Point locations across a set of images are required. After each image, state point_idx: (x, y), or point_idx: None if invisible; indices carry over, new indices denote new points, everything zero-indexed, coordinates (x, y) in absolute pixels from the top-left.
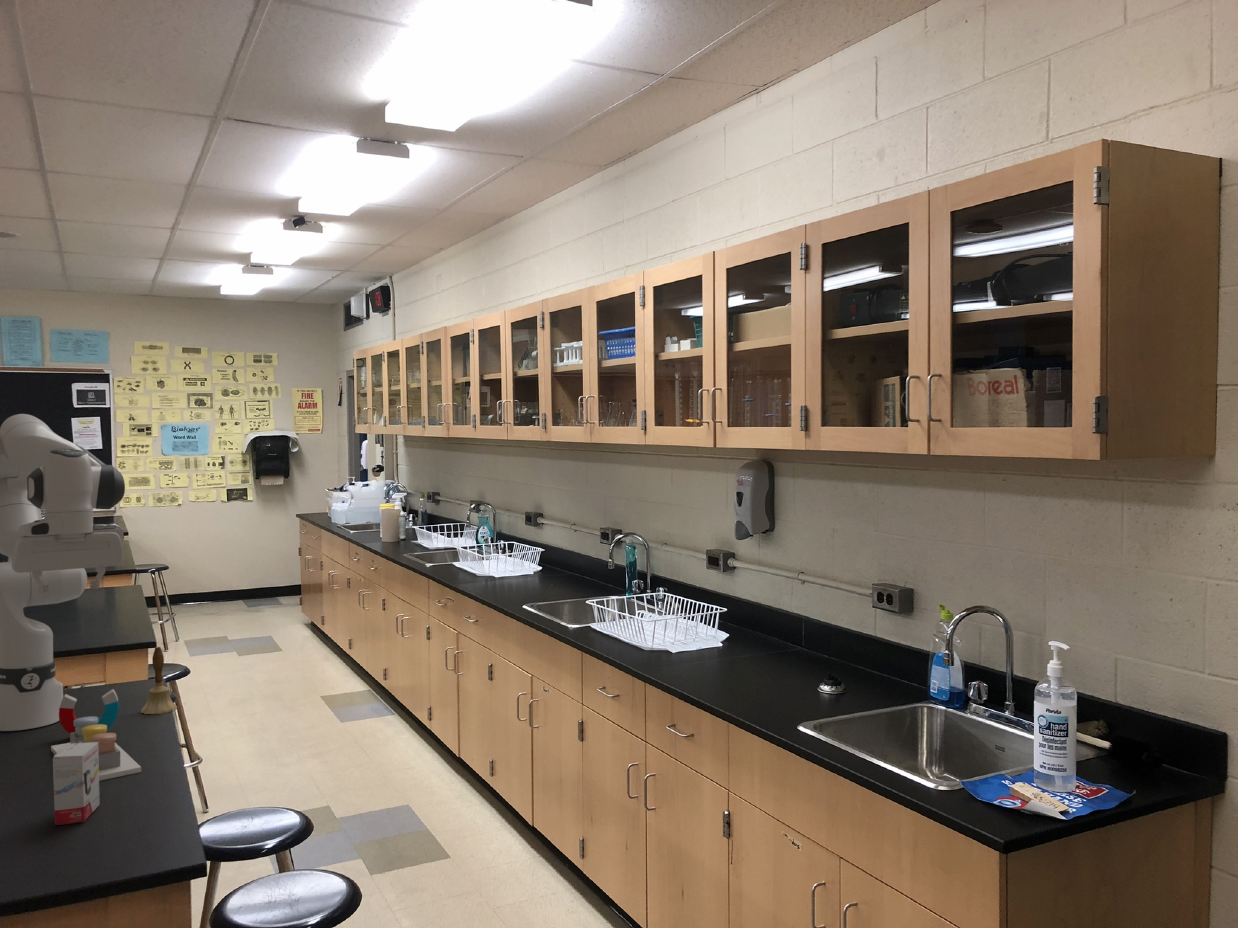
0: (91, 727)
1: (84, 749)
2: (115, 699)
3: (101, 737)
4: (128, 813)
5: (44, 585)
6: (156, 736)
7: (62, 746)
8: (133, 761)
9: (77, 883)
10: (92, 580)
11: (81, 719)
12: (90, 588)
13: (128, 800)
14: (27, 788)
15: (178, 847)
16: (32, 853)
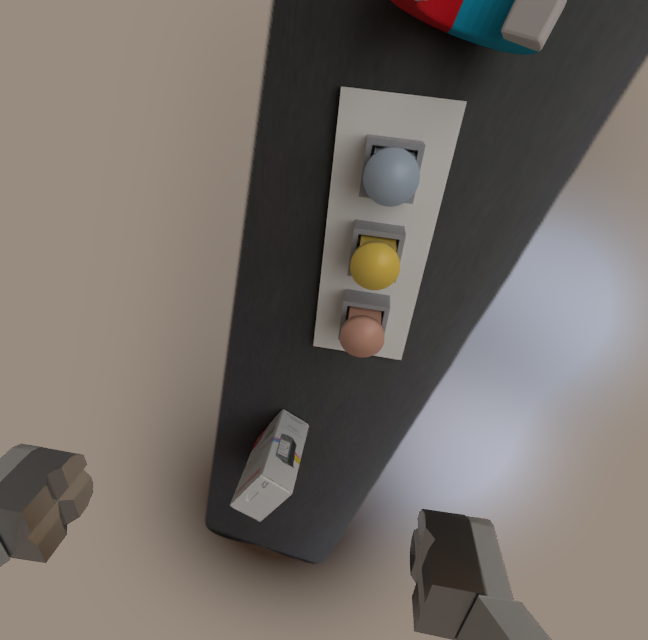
0: (370, 262)
1: (268, 506)
2: (535, 48)
3: (356, 344)
4: (324, 461)
5: (19, 549)
6: (547, 166)
7: (357, 114)
8: (406, 327)
9: (246, 536)
10: (445, 603)
11: (383, 169)
12: (419, 514)
13: (339, 432)
14: (255, 300)
15: (325, 540)
16: (227, 476)
